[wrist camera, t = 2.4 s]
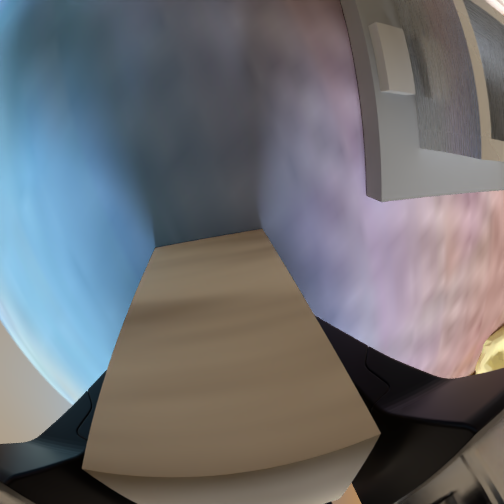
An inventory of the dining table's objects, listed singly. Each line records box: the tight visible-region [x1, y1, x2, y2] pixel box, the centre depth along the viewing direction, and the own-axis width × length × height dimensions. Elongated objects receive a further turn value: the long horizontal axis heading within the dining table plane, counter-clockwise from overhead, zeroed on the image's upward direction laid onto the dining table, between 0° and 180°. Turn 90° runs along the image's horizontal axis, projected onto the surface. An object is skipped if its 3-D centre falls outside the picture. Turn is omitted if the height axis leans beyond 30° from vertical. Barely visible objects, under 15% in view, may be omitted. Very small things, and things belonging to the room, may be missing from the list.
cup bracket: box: [393, 0, 504, 162], centre depth 7 cm, size 8×8×4 cm
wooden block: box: [82, 229, 381, 504], centre depth 8 cm, size 4×4×9 cm
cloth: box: [475, 326, 504, 375], centre depth 21 cm, size 22×19×6 cm
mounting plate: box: [340, 0, 504, 202], centre depth 8 cm, size 12×12×2 cm
